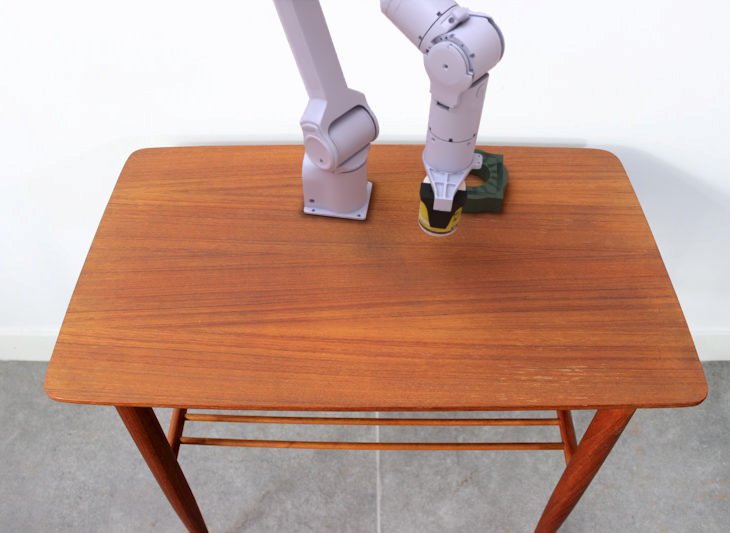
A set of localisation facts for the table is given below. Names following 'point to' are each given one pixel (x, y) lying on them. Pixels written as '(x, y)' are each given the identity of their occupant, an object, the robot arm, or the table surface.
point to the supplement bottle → (436, 231)
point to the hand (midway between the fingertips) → (439, 209)
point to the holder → (487, 184)
